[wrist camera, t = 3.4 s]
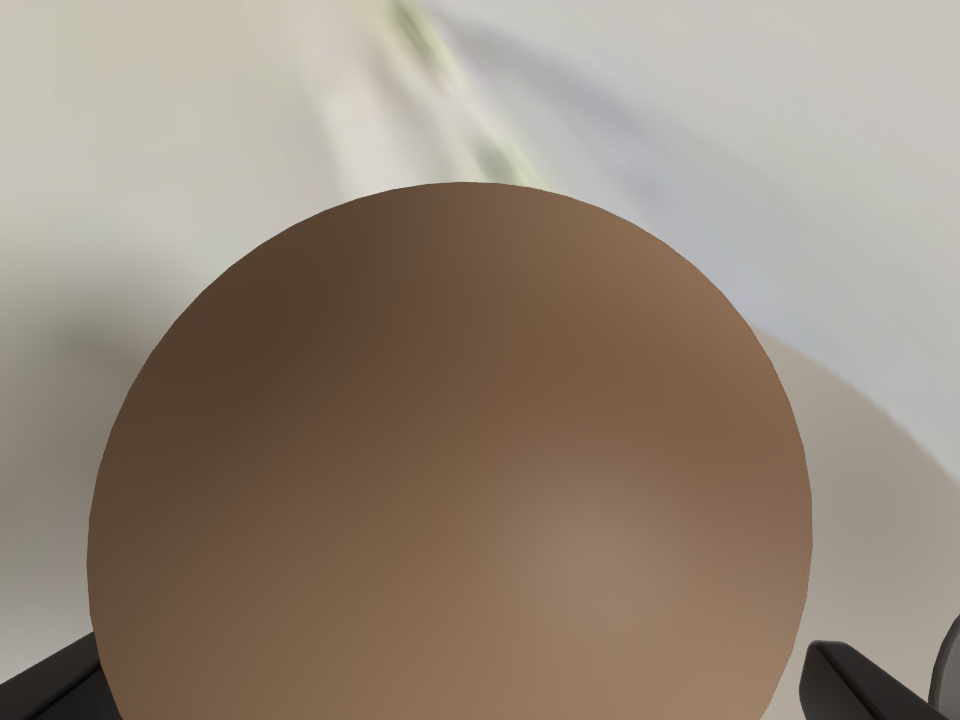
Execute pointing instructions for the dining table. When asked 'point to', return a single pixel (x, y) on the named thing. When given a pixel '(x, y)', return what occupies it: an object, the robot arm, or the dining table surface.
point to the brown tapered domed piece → (452, 480)
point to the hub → (947, 675)
